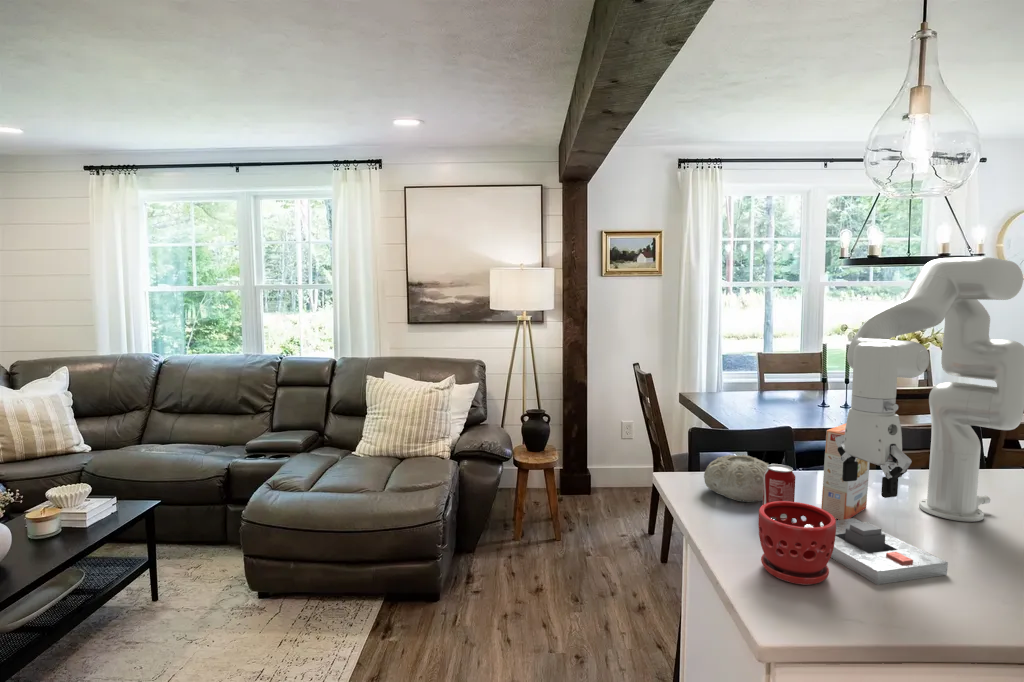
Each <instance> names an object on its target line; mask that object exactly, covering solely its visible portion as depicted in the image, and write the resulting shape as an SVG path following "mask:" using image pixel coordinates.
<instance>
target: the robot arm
mask: <svg viewBox="0 0 1024 682" xmlns="http://www.w3.org/2000/svg"><path fill="white" fill-rule="evenodd" d="M1023 275H1024V274H1023V271H1022V269H1021V267H1020V266H1019V265H1018V264H1017V263H1016V262H1014V261H1012V260H1006V259H1000V258H996V257H988V256H969V257H967V256H966V257H943V258H936V259H932V260H930V261H928V262H927V263H925V264H924V265H923V266H922V267H921V269H920V270H919V272H918V274H917V275H916V277H915V279H914V280H913V281H912V284H911V285H910V287H909V289H908V290H907V292H906V293H905V294H904V296H903V298H902V300H901V301H899V302H897V303H895V304H892V305H891V306H888V307H887V308H885V309H883V310H881V311H880V312H878V313H877V312H876V314H874V315H873V316H870V317H869V318H868V319H867V320H865V321H864V322H862V323H863V324H861V326H859V328H858V330H857V332H856V333H855V335H854V336H853V337H852V340H851V341H850V343H849V346H848V349H847V355H846V357H847V360H846V361H847V364H848V365H849V367H850V368H851V369H852V382H851V383H852V385H851V388H852V389H851V402H850V403H851V404H850V408H849V410H848V414H847V418H846V422H845V423H846V428H845V435H842V436H839V437H836V438H835V441H836V444H837V447H838V452H839V454H840V455H841V461H842V462H843V475H842V480H843V481H845V482H847V481H856V480H857V474H858V462H857V461H855V460H856V459H857V458H858V459H861V460H864V461H867V462H870V464H874V465H877V466H880V469H881V471H882V473H883V475H884V476H882V478H881V490H880V491H881V497H882V498H884V499H886V498H888V499H889V498H895V497H898V491H899V478H902V476H903V475H904V474H906V473H907V472H908V469H909V467H910V466H911V464H912V459H911V458H910V457H909V456H907V454H905V453H904V452H903V436H902V435H903V433H902V425H901V420H900V419H901V418H900V415H899V414H897V413H896V412H897V411H898V410H899V404H897V388H898V387H897V386H898V378H902V379H912V378H913V379H914V378H916V377H919V376H921V375H923V374H924V372H926V370H927V369H928V367H929V365H930V361H931V360H930V353H929V351H928V349H927V348H926V347H925V346H924V345H922V344H921V343H920V342H916V341H912V340H902V339H892V338H895V337H898V336H902V335H906V334H912V333H916V332H921V331H925V330H928V329H932V328H934V327H936V326H938V325H940V324H941V323H942V322H943V321H944V329H943V337H942V347H941V368H942V370H943V371H944V373H946V374H948V375H950V376H954V377H959V378H966V379H968V378H969V379H975V380H986V381H992V382H993V381H994V382H995V383H996V386H989V385H982V384H981V385H980V384H975V383H966V382H957V381H955V382H954V381H950V382H949V381H947V382H941V383H938V384H936V385H934V386H933V387H932V388H931V389H930V392H929V396H928V404H929V411H930V421H931V436H930V437H931V438H930V441H931V442H930V451H929V452H930V454H929V466H928V468H929V470H928V471H929V472H928V481H927V483H928V485H927V497H926V498H925V499H924V498H923V499H921V500H919V503H918V506H919V509H920V510H922V511H924V512H925V513H927V514H929V515H932V516H935V517H938V518H943V519H947V520H949V521H950V520H952V521H955V522H956V521H958V522H966V523H967V522H969V523H971V522H972V523H973V522H980V521H982V520H984V518H985V513H984V511H982V510H981V509H980V508H979V507H980V506H981V505H985V504H986V505H987V504H989V503H991V499H990V497H989V496H988V495H978V490H979V489H978V487H979V486H978V485H979V473H980V462H981V461H980V459H981V450H982V449H981V448H982V447H981V441H980V439H979V437H978V435H977V433H976V432H975V430H974V429H973V428H972V426H975V427H982V428H986V429H987V428H988V429H993V430H1001V431H1012V430H1015V429H1016V428H1018V427H1019V426H1020V425H1021V422H1022V421H1023V416H1024V345H1023V343H1021V342H1020V341H1015V340H1012V339H1011V340H1010V339H1001V338H1000V339H999V338H990V327H991V316H990V314H989V312H988V310H987V308H985V307H984V304H982V303H981V302H980V301H981V300H982V301H983V300H987V301H993V300H994V301H1007V300H1011V299H1014V297H1016V296H1017V295H1018V294H1019V293H1020V291H1021V289H1022V287H1023V284H1024V283H1023V282H1024V276H1023Z"/></svg>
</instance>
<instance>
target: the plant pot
mask: <svg viewBox="0 0 1024 682" xmlns="http://www.w3.org/2000/svg"><path fill="white" fill-rule="evenodd" d="M781 514H786V515H787V518H786V519H785V520H782V519H781V518H780V516H781ZM772 516H774V517H775V518H776V520H773V519H771V518H770V517H772ZM802 517H805V518H806V519H805V520H803V519H802ZM757 518H758V519H757V520H758V521H757V522H758V535H759V536H758V537H759V542H760V546H761V549H762V552H763V554H762V555H761V556H760V557H761V558H760V561H761V565H762V566H763V568H764V569H765V570H766V572H768V573H769V574H770V575H772V576H773V577H775V578H777V579H779V580H782V581H785V582H788V583H792V584H796V585H804V586H806V585H808V586H809V585H816V584H819V583H822V582H824V581H825V580H826V579H827V578H828V576H829V574H830V569H829V567H828V563H829V561H830V559H831V558H830V557H831V555H832V552H833V549H834V543H835V535H836V520H837V519H835V518H834V517H833V515H831V514H830V513H829V512H827V511H825V510H823V509H821V507H818V506H816V505H812V504H808V503H804V502H798V501H794V502H790V501H776V502H769V503H766V504H764V505H763V504H762V505H761V506H760V507H759V510H758V517H757ZM793 519H795V520H796V522H793V521H792V520H793ZM821 522H822V523H823V525H824V526H822V527H821V526H820V523H821ZM807 524H809V525H812V526H813V527H804V526H805V525H807Z"/></svg>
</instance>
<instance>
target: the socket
mask: <svg viewBox="0 0 1024 682" xmlns="http://www.w3.org/2000/svg"><path fill="white" fill-rule="evenodd" d="M835 520H836V535H835V543H834V549H833V552H832V555H831V558H830V559H832V558H833V559H832V560H833V561H835V560H836V561H835V562H837V561H838V562H837V563H839V564H841V565H842V564H843V565H842V566H845V567H846V568H848V569H850V570H851V571H853V572H855V573H857V574H858V575H860V576H861V577H863V578H864V579H867V580H869V581H870V582H871V583H873V584H875V585H877V586H878V585H884V584H892V583H899V582H905V581H906V582H907V581H913V580H919V579H920V580H921V579H927V578H934V577H942V576H948V567H949V566H948V565H949V562H948V561H946V560H944V559H942V558H940V557H938V556H935V555H934V554H931V553H929V552H927V551H925V550H924V549H921V548H918V547H916V546H914V545H913V544H910V543H908V542H907V541H906V542H905V541H904V540H901V539H899V538H897V537H895V536H894V535H891V534H889V533H886V531H883V530H881V533H883V534H885V549H884V552H876V553H867V552H865V551H863V550H861V549H860V548H858V547H856V546H854V545H852V544H850V543H848V542H846V541H845V532H846V528H850V524H858V523H864V522H863V521H861V520H859V519H857V518H854V517H851V518H850V519H843V520H837V519H835ZM820 526H821V527H822V526H824V525H823V523H822V522H821V523H820ZM804 527H813V526H812V525H809V524H807V525H805V526H804Z"/></svg>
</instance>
